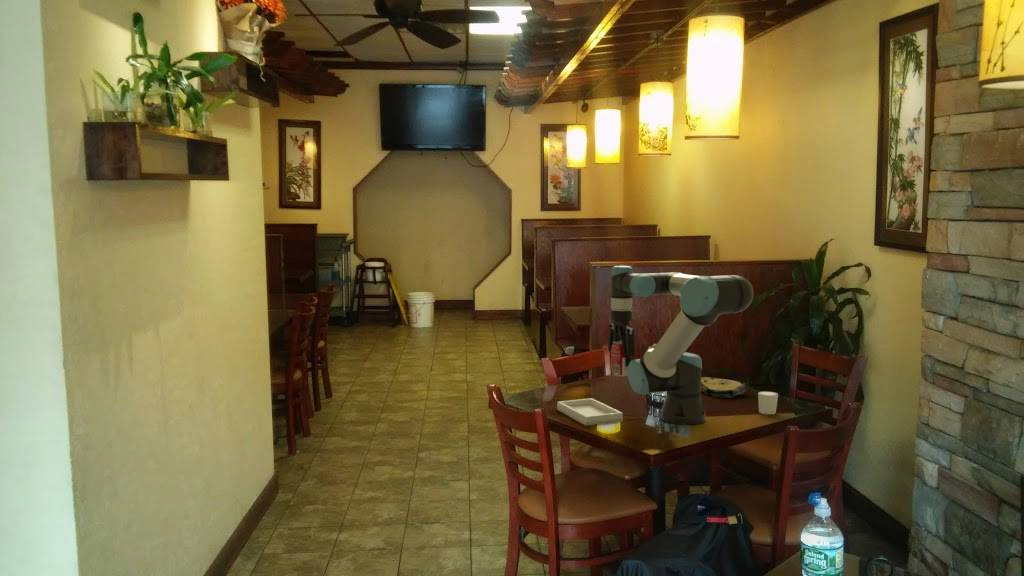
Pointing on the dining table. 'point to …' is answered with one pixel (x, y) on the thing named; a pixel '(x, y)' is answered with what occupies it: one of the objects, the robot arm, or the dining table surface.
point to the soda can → (617, 358)
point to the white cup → (767, 402)
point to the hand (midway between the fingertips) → (620, 373)
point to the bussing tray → (589, 411)
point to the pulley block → (722, 387)
